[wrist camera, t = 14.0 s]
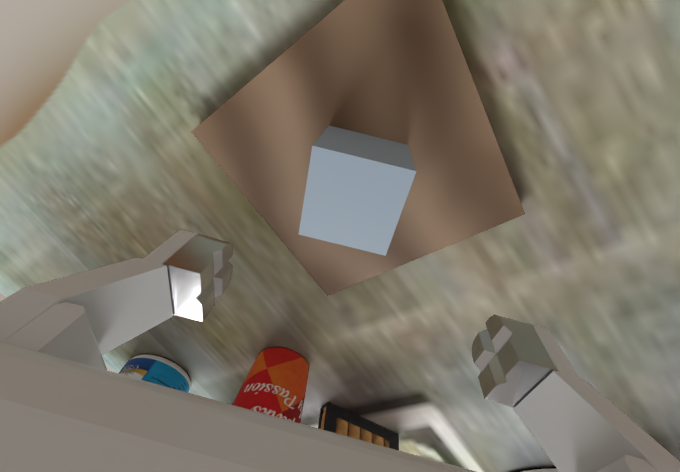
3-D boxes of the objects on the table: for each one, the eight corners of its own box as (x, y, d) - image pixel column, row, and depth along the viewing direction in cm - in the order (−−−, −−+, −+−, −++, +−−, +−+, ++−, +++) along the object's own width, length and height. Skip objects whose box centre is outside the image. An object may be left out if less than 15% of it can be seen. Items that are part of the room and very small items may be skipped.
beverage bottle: (193, 399, 39) (48, 657, 22) (132, 381, 39) (-64, 630, 22) (194, 363, 35) (14, 653, 18) (125, 343, 34) (-127, 619, 17)
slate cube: (408, 145, 18) (416, 171, 13) (384, 215, 20) (385, 255, 16) (329, 125, 18) (312, 145, 13) (316, 198, 20) (298, 234, 16)
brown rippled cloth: (415, -56, 14) (417, -63, 13) (518, 207, 20) (525, 213, 19) (199, 128, 20) (191, 131, 19) (329, 288, 26) (327, 295, 25)
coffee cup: (333, 365, 32) (300, 571, 19) (294, 394, 35) (244, 580, 23) (268, 327, 30) (182, 528, 17) (234, 362, 34) (144, 546, 21)
